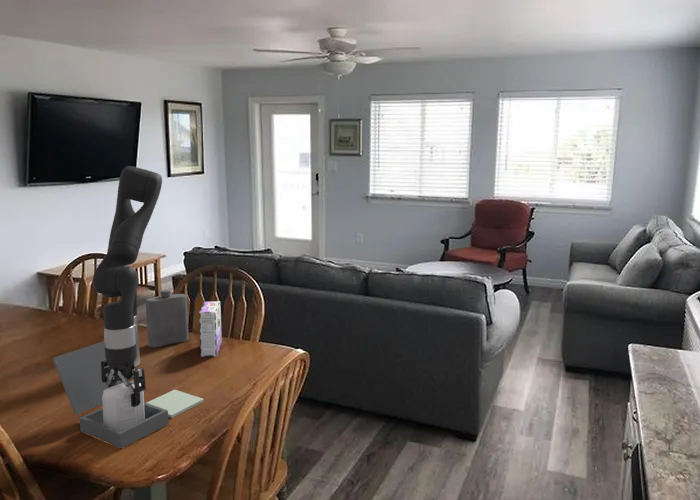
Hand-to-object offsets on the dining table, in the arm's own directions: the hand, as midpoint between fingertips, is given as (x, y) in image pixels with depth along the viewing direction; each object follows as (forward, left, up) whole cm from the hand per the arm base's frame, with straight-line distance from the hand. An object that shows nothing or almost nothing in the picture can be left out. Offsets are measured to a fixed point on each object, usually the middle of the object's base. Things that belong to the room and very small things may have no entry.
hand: (124, 402), depth 152 cm
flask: (-41, +51, -8) cm, 66 cm away
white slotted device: (0, 0, -8) cm, 8 cm away
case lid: (-13, 0, +4) cm, 14 cm away
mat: (0, +16, -7) cm, 18 cm away
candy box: (-22, +54, -8) cm, 59 cm away
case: (0, 0, -7) cm, 7 cm away
